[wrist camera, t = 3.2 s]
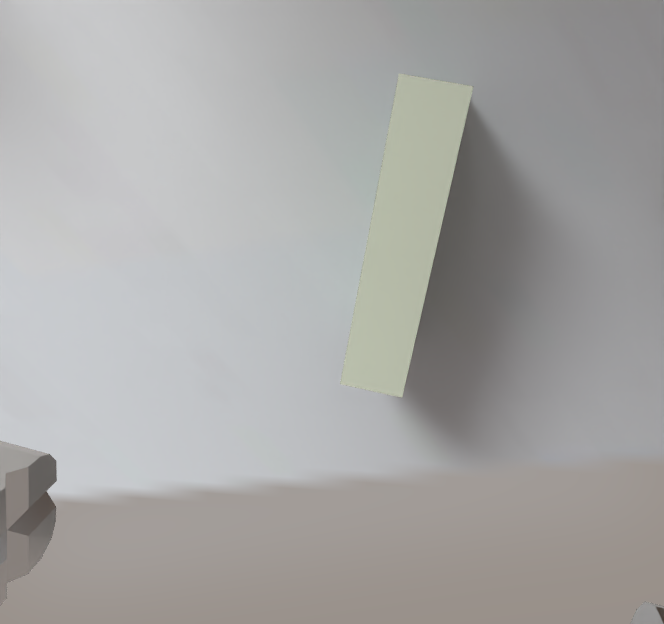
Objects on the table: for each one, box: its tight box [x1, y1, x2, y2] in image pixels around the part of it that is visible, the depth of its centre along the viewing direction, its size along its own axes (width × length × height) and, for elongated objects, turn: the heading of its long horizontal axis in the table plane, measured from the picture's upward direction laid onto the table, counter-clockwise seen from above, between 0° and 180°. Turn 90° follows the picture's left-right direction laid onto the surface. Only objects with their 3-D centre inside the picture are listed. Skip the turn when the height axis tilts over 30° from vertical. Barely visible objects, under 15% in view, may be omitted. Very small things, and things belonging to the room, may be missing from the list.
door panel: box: [340, 74, 473, 398], centre depth 31 cm, size 3×14×8 cm, turn 170°
